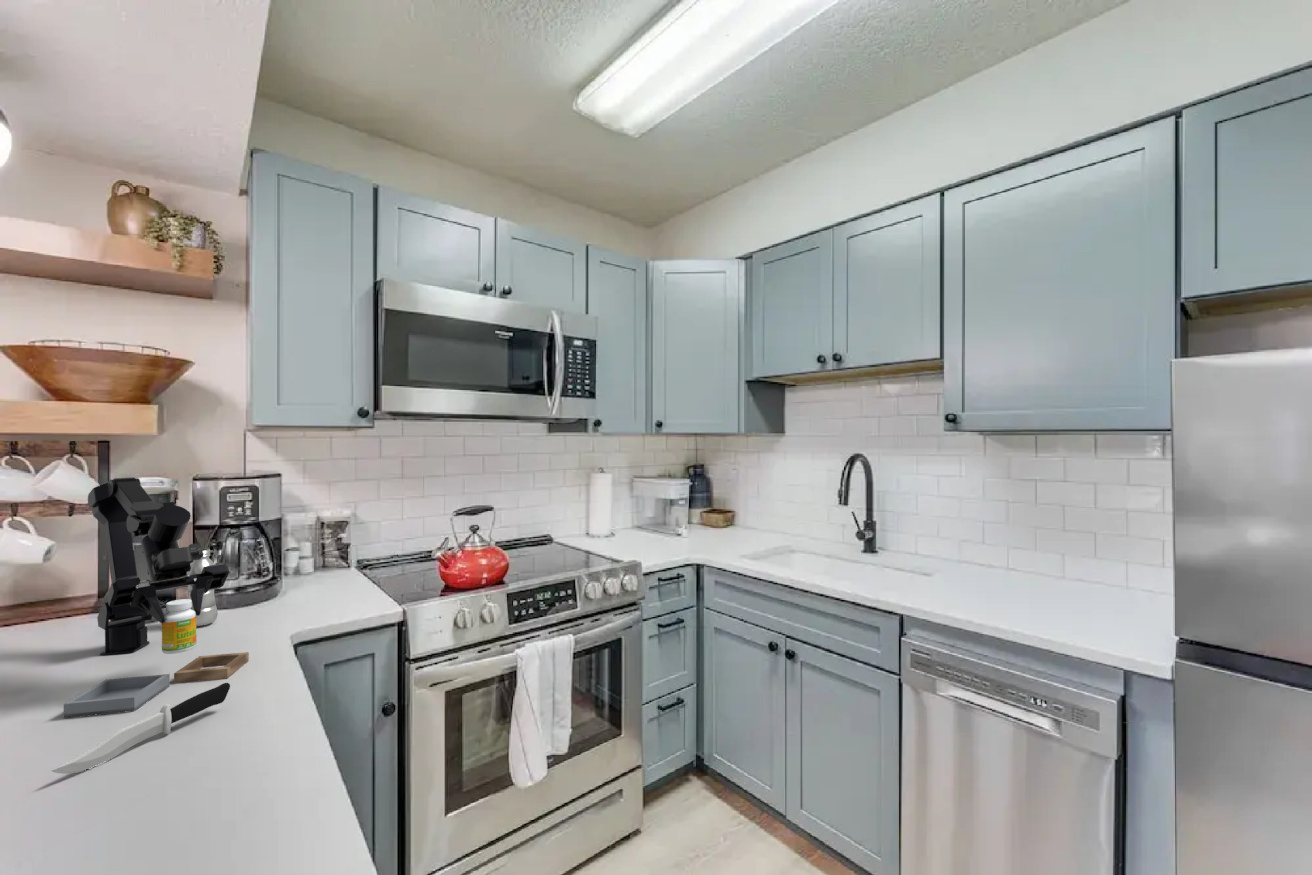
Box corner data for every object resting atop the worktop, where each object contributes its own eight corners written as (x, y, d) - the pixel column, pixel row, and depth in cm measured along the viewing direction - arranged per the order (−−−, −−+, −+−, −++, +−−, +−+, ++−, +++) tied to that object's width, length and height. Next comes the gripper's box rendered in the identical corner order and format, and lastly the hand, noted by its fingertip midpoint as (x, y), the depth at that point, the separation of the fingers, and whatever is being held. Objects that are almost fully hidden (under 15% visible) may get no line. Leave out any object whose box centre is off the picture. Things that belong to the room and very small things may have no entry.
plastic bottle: (223, 622, 154) (223, 548, 154) (196, 630, 147) (195, 553, 147) (207, 620, 156) (206, 546, 156) (179, 627, 149) (178, 551, 149)
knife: (55, 787, 81) (55, 752, 81) (47, 785, 81) (47, 750, 81) (232, 707, 105) (232, 680, 105) (225, 706, 105) (225, 679, 105)
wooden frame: (174, 683, 115) (174, 673, 115) (199, 665, 124) (199, 656, 124) (227, 678, 117) (227, 668, 117) (248, 661, 127) (248, 652, 127)
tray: (63, 718, 101) (63, 703, 101) (106, 692, 111) (105, 679, 111) (134, 711, 103) (134, 697, 103) (169, 686, 114) (169, 673, 114)
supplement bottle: (177, 655, 113) (176, 606, 113) (154, 653, 114) (154, 604, 114) (203, 645, 118) (202, 598, 118) (181, 643, 119) (181, 597, 119)
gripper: (111, 539, 110) (127, 606, 104) (226, 526, 126) (246, 584, 119) (100, 574, 115) (115, 640, 109) (212, 557, 130) (231, 614, 124)
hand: (181, 618), depth 115 cm, fingers closed on supplement bottle, 5 cm apart
